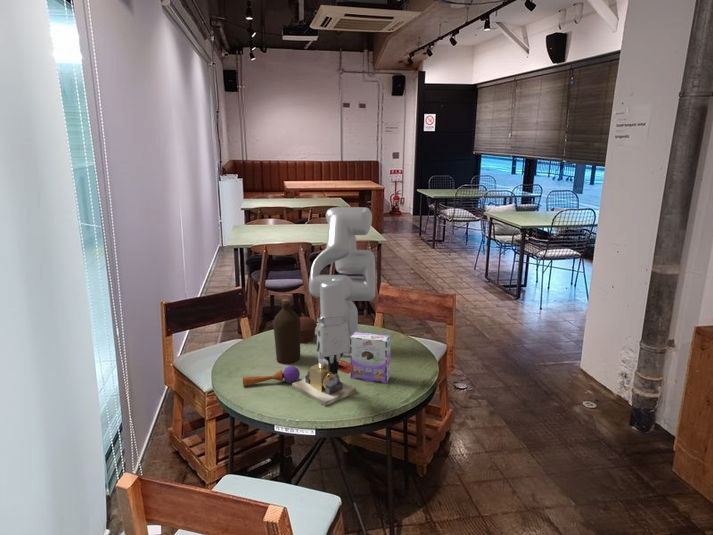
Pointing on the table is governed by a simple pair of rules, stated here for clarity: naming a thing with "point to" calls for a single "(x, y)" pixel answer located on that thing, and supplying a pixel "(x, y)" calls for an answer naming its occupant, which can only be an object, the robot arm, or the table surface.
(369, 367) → the candy box
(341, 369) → the lever
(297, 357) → the olive oil
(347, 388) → the mounting board
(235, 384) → the table surface
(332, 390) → the pipe and valve body
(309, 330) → the muffin
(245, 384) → the kendama
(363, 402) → the table surface
